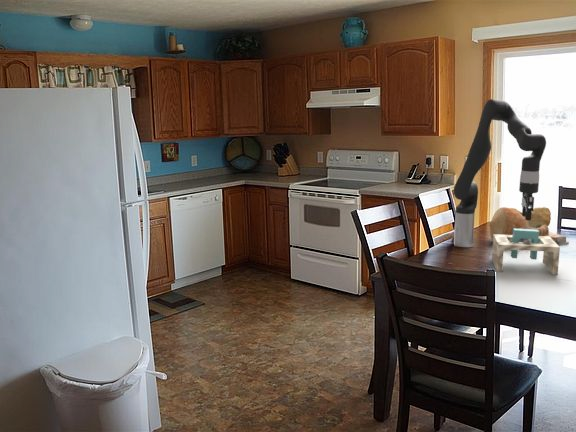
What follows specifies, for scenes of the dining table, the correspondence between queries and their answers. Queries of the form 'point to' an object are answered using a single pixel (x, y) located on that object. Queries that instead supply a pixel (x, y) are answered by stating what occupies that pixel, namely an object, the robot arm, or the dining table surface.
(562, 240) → the packaged product
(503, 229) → the orange-brown rounded sculpted piece
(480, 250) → the dining table surface
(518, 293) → the dining table surface
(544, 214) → the rough brown rock
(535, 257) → the teal arch block
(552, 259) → the shelf
